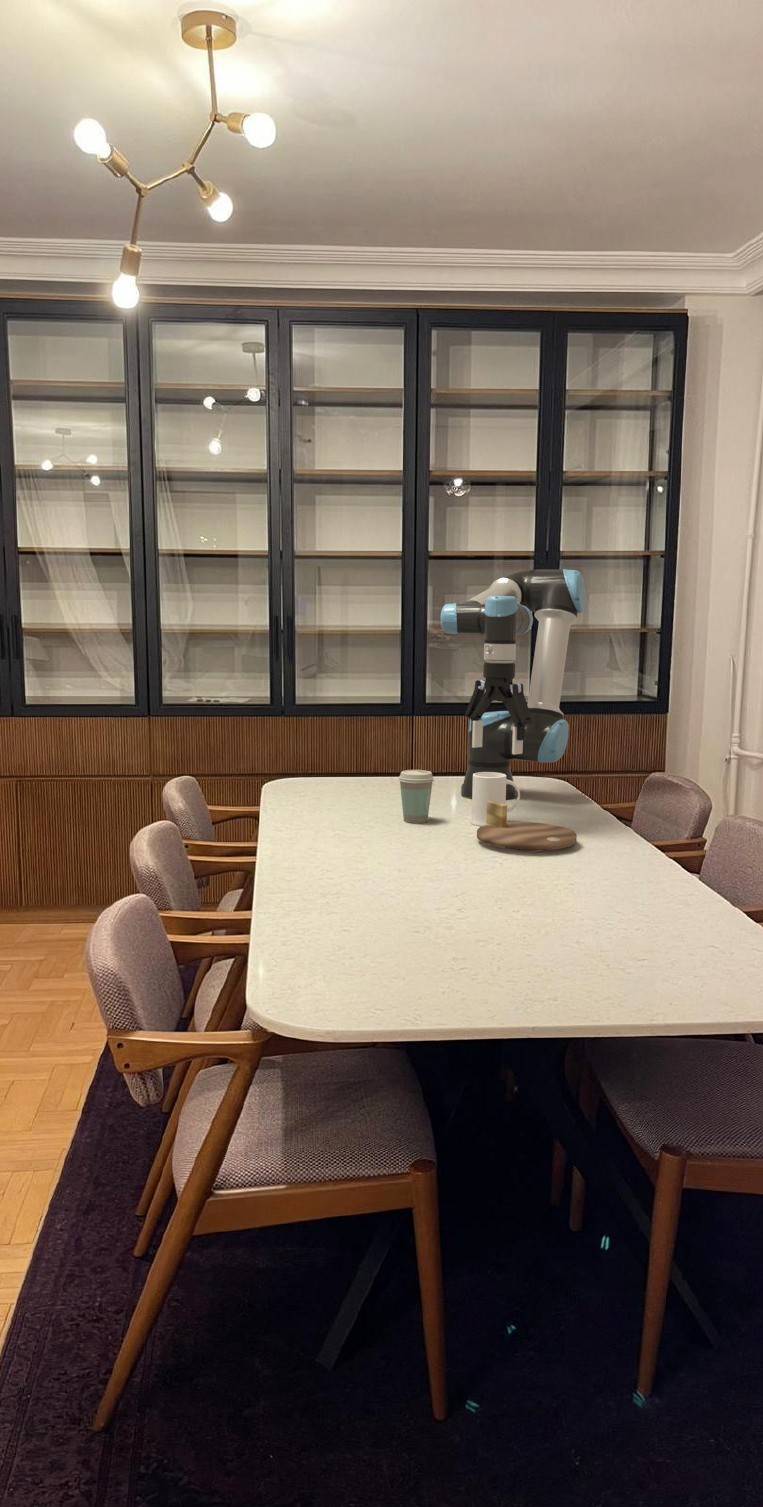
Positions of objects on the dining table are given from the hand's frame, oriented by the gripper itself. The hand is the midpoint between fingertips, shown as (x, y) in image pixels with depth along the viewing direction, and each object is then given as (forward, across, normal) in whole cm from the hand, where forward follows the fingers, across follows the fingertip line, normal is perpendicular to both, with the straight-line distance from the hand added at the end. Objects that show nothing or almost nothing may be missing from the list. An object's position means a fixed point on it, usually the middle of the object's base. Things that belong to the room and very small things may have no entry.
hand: (496, 750), depth 249 cm
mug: (+18, 0, 0) cm, 18 cm away
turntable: (+17, +18, -9) cm, 26 cm away
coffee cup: (+18, -14, -14) cm, 26 cm away
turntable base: (+18, +19, -9) cm, 28 cm away
